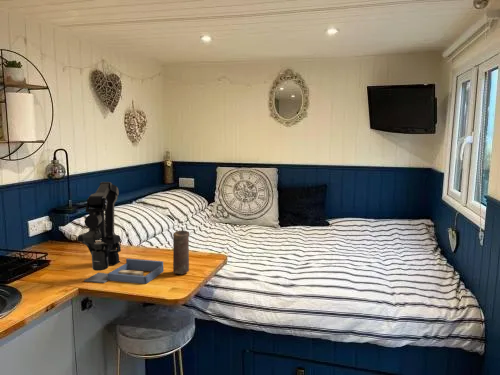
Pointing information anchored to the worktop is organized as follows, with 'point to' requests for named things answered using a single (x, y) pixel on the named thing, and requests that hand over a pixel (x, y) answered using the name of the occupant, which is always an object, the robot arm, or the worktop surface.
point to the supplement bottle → (99, 257)
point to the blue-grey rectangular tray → (137, 265)
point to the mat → (98, 278)
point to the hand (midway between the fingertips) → (99, 256)
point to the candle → (181, 252)
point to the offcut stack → (131, 272)
